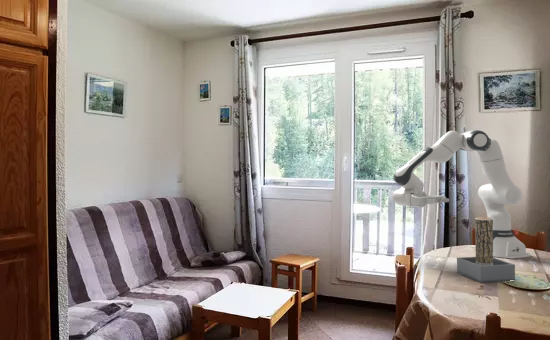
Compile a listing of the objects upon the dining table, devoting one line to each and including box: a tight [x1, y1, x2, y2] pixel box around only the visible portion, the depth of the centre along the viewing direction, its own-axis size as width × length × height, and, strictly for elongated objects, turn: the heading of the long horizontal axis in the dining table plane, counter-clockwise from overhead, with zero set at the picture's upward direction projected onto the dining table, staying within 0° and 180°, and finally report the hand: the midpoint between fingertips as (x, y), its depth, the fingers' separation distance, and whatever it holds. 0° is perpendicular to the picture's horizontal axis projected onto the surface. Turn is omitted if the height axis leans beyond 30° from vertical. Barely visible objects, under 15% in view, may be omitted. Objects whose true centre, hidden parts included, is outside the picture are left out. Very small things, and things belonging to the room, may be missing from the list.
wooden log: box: [474, 216, 494, 266], centre depth 169 cm, size 7×7×25 cm
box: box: [456, 256, 516, 284], centre depth 169 cm, size 16×16×7 cm
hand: (441, 200), depth 191 cm, fingers open, 8 cm apart
